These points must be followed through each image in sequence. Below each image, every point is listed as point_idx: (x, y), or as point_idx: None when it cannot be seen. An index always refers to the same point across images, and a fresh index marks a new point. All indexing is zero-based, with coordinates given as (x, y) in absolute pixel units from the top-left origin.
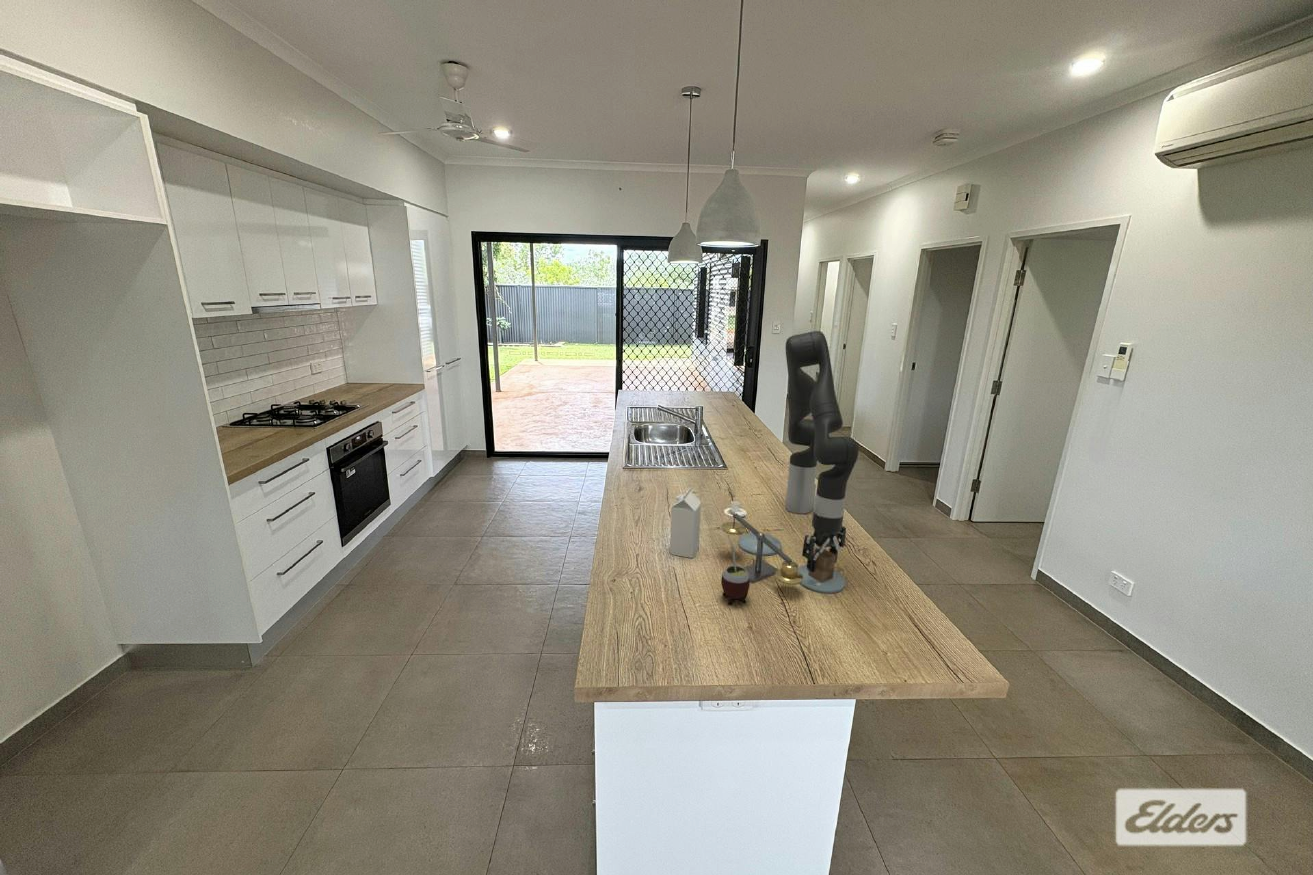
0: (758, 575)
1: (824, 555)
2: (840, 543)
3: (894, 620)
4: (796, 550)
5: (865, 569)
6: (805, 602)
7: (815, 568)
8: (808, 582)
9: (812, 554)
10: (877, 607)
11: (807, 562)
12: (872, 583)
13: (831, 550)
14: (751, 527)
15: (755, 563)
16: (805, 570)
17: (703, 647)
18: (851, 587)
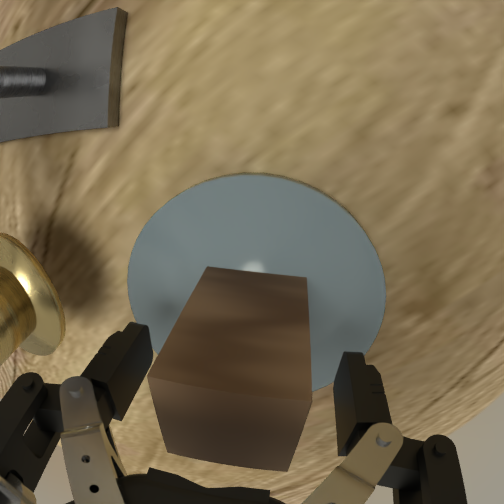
0: (13, 126)
1: (207, 444)
2: (401, 490)
3: (247, 479)
4: (436, 25)
5: (481, 356)
6: (82, 336)
7: (142, 376)
8: (153, 303)
9: (53, 444)
10: None
11: (94, 359)
12: (396, 413)
13: (348, 429)
14: None
15: (65, 24)
16: (236, 225)
17: None
18: (313, 396)
